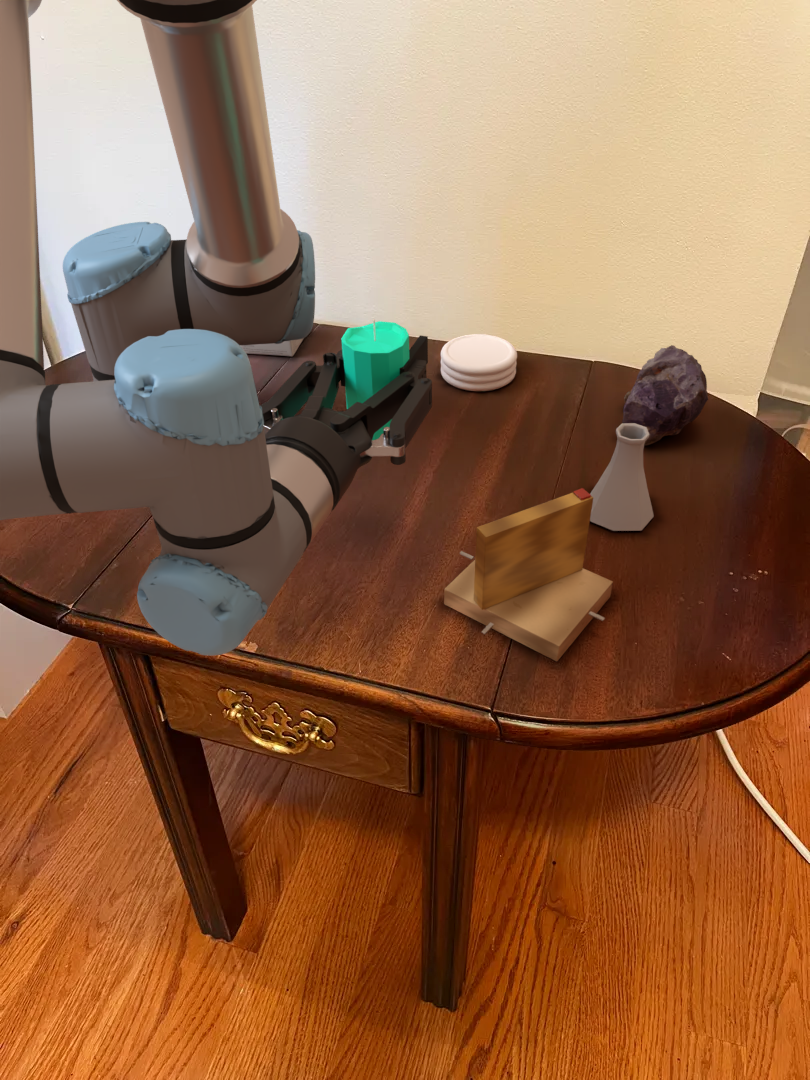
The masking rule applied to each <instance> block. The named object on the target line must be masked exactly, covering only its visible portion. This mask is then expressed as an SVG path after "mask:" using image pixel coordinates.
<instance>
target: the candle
mask: <svg viewBox="0 0 810 1080" xmlns="http://www.w3.org/2000/svg"><path fill="white" fill-rule="evenodd" d="M340 340H341V350H342V354H343V361H344V374H345V386H346V387H345V386H344V390H345V402H346V410H347V409H348V408H350V407H351V406H352V405H354V404H355V403H356V402H360V403H364V402H365V401H366V400H367V399H369V398H370V397H371V396H373V395H374V394H375V393H377V392H378V391H379V390H381V389H382V388H383V387H384V386H386V385H387V384H388V383H390V382H391V381H392V380H394V379H395V378H396V377H398V376H399V375H400V368H401V367H403V366H404V365H405V364H406V363H407V361H408V360H409V350H410V335H409V332H408V330H407V328H405V327H403V325H400V324H398V323H397V322H392V321H383V320H378V321H376V319H374V318H373V320H372V322H371V323H369V324H365V325H362V326H354V327H348V328H347V329H346V330H345V332H344V333H343V335H342V337H341V338H340ZM391 420H392V419H391ZM391 420H390V421H389V422H388V423H386V424H385V425H384V426H383V427H381V428H380V429H379V430H378V431H377V432H375V433H374V436H373V439H372V440H376V439H378V438H379V437H380V435H381V434H383V428H385V427H390V422H391Z"/></svg>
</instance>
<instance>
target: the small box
mask: <svg viewBox="0 0 810 1080" xmlns="http://www.w3.org/2000/svg"><path fill="white" fill-rule="evenodd" d="M304 339H305V338H303V339H298V340H291V341H284V342H282V343H280V344H275V343H272V344H255V345H240V346H241V347H242V349H243V350H244V351H245V353H246V354H247V355H248V354H250V355H262V356H263V355H265V356H282V357H294V355H295V354H296V352H297V350H298V349H299V347H300V345H301V344H302V342H303V341H304Z"/></svg>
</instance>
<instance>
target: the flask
mask: <svg viewBox="0 0 810 1080" xmlns="http://www.w3.org/2000/svg"><path fill="white" fill-rule="evenodd" d="M615 434H616V438H617V440H616V445H615V448H614V450H613V454H612V456H611V458H610V460H609V463H608V465H606V467H605V469H604V471H603V473H602V475H601V476H600V477H599V479H598V481H597V482H596V484H595V485H594V487H593V489H592V490H591V492H590V493H589V494H590V495H591V496H592V497H593V504H592V510H591V517H590V522H591V523H593V524H596V525H598V526H601V527H603V528H605V529H608V530H610V531H612V532H618V531H619V532H620V531H621V532H624V531H625V532H626V531H627V532H629V531H630V532H631V531H633V532H634V531H640V532H641V531H643V530H644V529H645V527H646V526H647V525H648V524H649V523H650V521H651V520H652V519H653V518H654V516H655V515H654V510H653V506H652V502H651V498H650V493H649V489H648V484H647V479H646V474H645V467H644V450H645V445H644V444H645V441H646V440H647V439H648V438H649V432H648V429H647V427H644V426H641V425H638V424H635V423H620V425H619V426H618V427H616V428H615Z"/></svg>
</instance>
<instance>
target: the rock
mask: <svg viewBox="0 0 810 1080" xmlns="http://www.w3.org/2000/svg"><path fill="white" fill-rule="evenodd" d="M623 400H624V405H623V409H622V412H623V415H622V416H623V417H622V423H635V424H638V425H641V426H644V427H647V429H648V432H649V438H648V439H647V440H646V441H645V444H644V446H649V445H652V444H655V443H657V442H659V441H661V439H662V438H663V437H666V436H675V435H678V434H679V433H680V432H682V430H683V428H684V427H685V426H687V425H688V424H690V423H693V422H694V420H696V419H697V418H698V416H699V415H700V414H701V412H702V411H703V410H704V407H705V405H706V403H707V402H708V401H709V396H708V382H707V376H706V374H705V372H704V371H703V369H702V365H701V363H699V360H698V359H696V358H695V357H694V356H693V355H692V354H689V353H688V352H687V351H686V350H685V349H682V348H678V347H676V345H673V344H671V345H669V346H667V347H661V348H660V349H658V351H655V353H654V356H653V357H652V358H650V359H648V360H646V363H644V364H643V365H642V366H641V369H640V370H639V372H638V373H637V375H636V379H635V382H634V385H633V386H632V388H631V389H630V390H629V391H627V392H626V393H625V395H624V398H623ZM622 423H621V424H622Z"/></svg>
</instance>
